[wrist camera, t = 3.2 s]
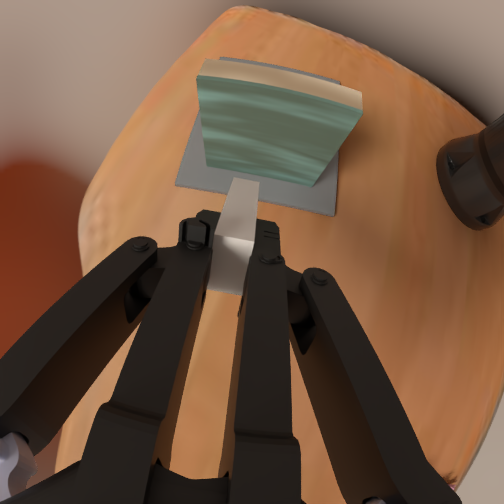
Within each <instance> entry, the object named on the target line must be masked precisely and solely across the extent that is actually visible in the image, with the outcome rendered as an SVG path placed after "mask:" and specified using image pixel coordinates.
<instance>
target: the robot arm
mask: <svg viewBox="0 0 504 504" xmlns="http://www.w3.org/2000/svg"><path fill="white" fill-rule="evenodd" d="M436 166H437V174H438V179H439V183H440V186H441V189H442V191H443V194H444V196H445V198H446V200H447V202H448V204H449V206H450V207H451V209H452V210H453V212H454V213H455V215H456V216H457V217H458V218H459V219H460V220H461V221H462V222H463V223H464V224H465V225H466V226H468V227H469V228H471V229H473V230H484V229H486V228H489V227H491V226H493V225H495V224H496V223H497V222H498V221H499V220H500V219H501V218H502V217H503V216H504V114H503V115H502V116H500V117H499V118H498V119H497V120H495V121H494V122H493V123H491V124H490V125H489V126H487V127H486V128H485V129H484V130H482V131H481V132H480V133H478V134H474V135H469V136H465V137H461V138H457V139H453V140H451V141H449V142H448V143H447V144H445V145H444V146H443V147H442V148H441V149H440V150H439V152H438V155H437V162H436ZM259 183H260V182H257V181H251V180H246V179H241V178H235V177H234V178H233V181H232V184H231V186H230V189H229V192H228V195H227V198H226V201H225V204H224V207H223V209H222V212H221V213H220V212H215V211H209V210H202V211H201V212H199V213H197V215H196V217H195V218H187V219H184V220H182V221H181V222H180V223H179V239H178V243H177V245H176V246H174V247H166V248H157V243H156V241H155V240H153V239H151V238H149V237H144V236H142V237H141V236H139V237H134V238H131V239H129V240H127V241H126V242H125V243H124V244H122V245H121V246H120V247H119V248H117V249H116V250H115V251H114V252H113V253H111V254H110V255H109V256H108V257H106V258H105V259H104V260H103V261H102V262H100V263H99V264H98V265H97V266H96V267H95V268H93V269H92V270H91V271H90V272H89V273H88V274H87V275H85V276H84V277H83V278H82V279H81V280H80V281H79V282H77V283H76V284H75V285H74V286H73V287H72V288H71V289H70V290H69V291H68V292H67V293H65V294H64V295H63V296H62V297H61V298H60V299H59V300H58V301H57V302H56V303H55V304H53V305H52V306H51V307H50V308H49V309H48V310H47V311H46V312H45V313H44V314H43V315H42V316H41V317H40V318H39V319H38V320H37V321H36V322H35V323H34V324H33V325H32V326H31V327H30V328H29V329H28V330H27V331H26V332H25V333H24V334H23V335H22V336H21V337H20V338H19V339H18V340H17V342H16V343H15V344H14V345H13V346H12V347H11V348H10V349H9V350H8V351H7V352H6V353H5V355H4V356H3V357H2V358H1V359H0V504H306V503H305V502H304V501H303V500H302V499H301V452H300V445H299V442H298V440H297V439H296V438H295V437H294V436H293V433H292V399H291V366H290V342H291V345H292V348H293V351H294V354H295V357H296V360H297V362H298V365H299V368H300V371H301V374H302V377H303V380H304V383H305V386H306V389H307V392H308V395H309V398H310V401H311V404H312V407H313V410H314V413H315V416H316V419H317V422H318V425H319V428H320V431H321V434H322V437H323V440H324V443H325V446H326V449H327V452H328V456H329V459H330V462H331V465H332V468H333V471H334V474H335V477H336V480H337V483H338V486H339V488H340V491H341V493H342V496H343V498H344V499H345V501H346V503H347V504H462V501H461V500H460V498H459V496H458V495H457V494H456V493H455V492H454V490H453V489H452V488H451V487H450V486H449V485H448V484H447V483H446V482H445V480H444V479H443V478H442V477H441V476H440V475H439V474H438V473H437V471H436V470H435V469H434V468H433V467H432V466H431V465H430V464H429V462H428V461H427V460H426V457H425V455H424V453H423V450H422V448H421V446H420V443H419V441H418V439H417V437H416V434H415V432H414V430H413V428H412V426H411V423H410V421H409V419H408V417H407V415H406V413H405V410H404V408H403V406H402V404H401V402H400V400H399V398H398V396H397V394H396V392H395V390H394V388H393V386H392V384H391V382H390V380H389V378H388V376H387V374H386V372H385V370H384V368H383V366H382V364H381V362H380V360H379V358H378V356H377V354H376V352H375V350H374V349H373V347H372V345H371V343H370V341H369V339H368V337H367V335H366V334H365V332H364V330H363V328H362V326H361V324H360V323H359V321H358V319H357V317H356V315H355V314H354V312H353V310H352V308H351V307H350V305H349V303H348V301H347V300H346V298H345V296H344V294H343V293H342V291H341V289H340V287H339V286H338V284H337V282H336V281H335V279H334V278H333V276H332V275H331V274H330V273H328V272H327V271H325V270H322V269H320V268H308V269H306V270H304V272H303V274H302V273H299V272H297V271H294V270H292V269H290V268H289V267H287V266H286V265H285V260H284V257H283V256H282V255H281V251H280V235H279V227H278V226H277V225H276V223H275V222H271V221H266V220H261V219H256V217H257V205H258V194H259ZM207 289H209V290H214V291H219V292H225V293H230V294H236V295H241V296H242V298H241V303H240V307H239V311H238V316H237V317H238V325H237V333H236V341H235V350H234V358H233V366H232V374H231V382H230V390H229V399H228V407H227V415H226V424H225V432H224V440H223V449H222V456H221V461H220V466H219V473H218V478H212V479H188V478H186V477H183V476H181V475H179V474H177V473H174V472H172V471H170V470H169V467H170V461H171V450H172V443H173V438H174V433H175V428H176V423H177V418H178V413H179V409H180V404H181V399H182V395H183V390H184V386H185V381H186V377H187V373H188V368H189V364H190V360H191V355H192V351H193V347H194V343H195V338H196V334H197V330H198V326H199V322H200V318H201V314H202V310H203V306H204V302H205V298H206V290H207ZM140 322H141V323H140ZM139 323H140V326H139V328H138V331H137V333H136V335H135V338H134V340H133V343H132V345H131V347H130V350H129V352H128V355H127V357H126V360H125V363H124V365H123V368H122V370H121V373H120V376H119V378H118V381H117V384H116V386H115V389H114V392H113V395H112V397H111V399H110V400H109V402H106V403H103V404H102V405H101V406H100V408H99V409H98V411H97V413H96V416H95V418H94V421H93V424H92V427H91V430H90V433H89V436H88V439H87V442H86V446H85V449H84V452H83V455H82V459H81V460H80V461H77V462H75V463H73V464H72V465H70V466H68V467H67V468H65V469H63V470H61V471H60V472H58V473H56V474H54V475H52V476H51V477H49V478H47V479H46V480H43V481H41V482H39V483H38V484H36V485H34V486H32V487H30V488H28V489H26V484H27V481H28V480H29V479H30V477H31V476H33V475H35V474H36V473H37V464H36V462H35V460H34V456H35V455H36V454H38V453H39V452H40V451H41V450H42V449H43V448H44V447H46V446H47V445H48V444H49V443H50V441H51V440H52V439H53V437H54V436H55V435H56V434H57V432H58V431H59V429H60V428H61V427H62V425H63V424H64V422H65V421H66V420H67V418H68V417H69V415H70V414H71V413H72V411H73V410H74V408H75V407H76V406H77V404H78V403H79V401H80V400H81V399H82V397H83V396H84V395H85V393H86V392H87V391H88V389H89V388H90V387H91V385H92V384H93V383H94V381H95V380H96V379H97V377H98V376H99V375H100V373H101V372H102V371H103V369H104V368H105V367H106V365H107V364H108V363H109V361H110V360H111V359H112V358H113V356H114V355H115V354H116V352H117V351H118V350H119V349H120V347H121V346H122V345H123V343H124V342H125V341H126V340H127V338H128V337H129V336H130V335H131V333H132V332H133V331H134V330H135V328H136V327H137V326H138V325H139ZM289 339H290V341H289Z"/></svg>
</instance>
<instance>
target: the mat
mask: <svg viewBox="0 0 504 504" xmlns="http://www.w3.org/2000/svg"><path fill="white" fill-rule="evenodd" d="M219 60H224V61H232V62H240V63H246V64H253V65H259V66H264V67H270V68H275V69H280V70H285V71H289V72H294V73H298V74H302V75H306V76H310V77H314V78H317V79H321V80H325V81H328V82H331V83H335V84H338V85H340V81H336V80H333V79H330V78H326V77H323V76H319V75H316V74H312V73H308V72H304V71H300V70H296V69H291V68H287V67H282V66H277V65H272V64H267V63H261V62H256V61H249V60H243V59H235V58H227V57H220V59H219ZM338 156H339V149H338V151H337V152H336V153H335V155H334V156H333V158H332V159H331V161H330V162H329V163H328V165H327V166H326V168H325V169H324V171H323V172H322V173H321V175H320V176H319V178H318V179H317V180H316V182H315V183H314V185H313V186H312V187H308V186H304V185H300V184H295V183H291V182H286V181H282V180H277V179H272V178H267V177H262V176H257V175H252V174H247V173H242V172H236V171H231V170H225V169H219V168H213V167H207V165H206V157H205V150H204V142H203V134H202V125H201V117H200V109H199V112H198V114H197V117H196V120H195V123H194V126H193V129H192V131H191V134H190V137H189V140H188V143H187V146H186V149H185V152H184V155H183V158H182V162H181V165H180V168H179V171H178V175H177V178H176V181H175V186H178V187H185V188H191V189H197V190H203V191H209V192H214V193H220V194H225V195H228V192H229V189H230V186H231V184H232V181H233V178H234V177H235V178H241V179H246V180H251V181H257V182H260V183H259V194H258V201H262V202H267V203H272V204H277V205H282V206H286V207H291V208H296V209H300V210H305V211H309V212H314V213H318V214H322V215H327V216H331V217H333V216H334V214H335V203H336V189H337V174H338Z"/></svg>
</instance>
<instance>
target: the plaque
mask: <svg viewBox="0 0 504 504" xmlns="http://www.w3.org/2000/svg"><path fill="white" fill-rule="evenodd" d="M196 81H197V90H198V99H199V108H200V117H201V125H202V134H203V142H204V150H205V157H206V165H207V167H213V168H219V169H225V170H231V171H236V172H242V173H247V174H252V175H257V176H262V177H267V178H272V179H277V180H282V181H286V182H291V183H295V184H300V185H304V186H308V187H312V186H313V185H314V183H315V182H316V180H317V179H318V178H319V176H320V175H321V173H322V172H323V171H324V169H325V168H326V166H327V165H328V163H329V162H330V161H331V159H332V158H333V156H334V155H335V153H336V152H337V151H338V149H339V148H340V146H341V145H342V143H343V142H344V141H345V139H346V138H347V136H348V135H349V133H350V132H351V131H352V129H353V128H354V126H355V125H356V123H357V122H358V120H359V119H360V118H361V116H362V115H363V108H362V93H361V92H359V91H356V90H353V89H350V88H347V87H344V86H341V85H338V84H335V83H331V82H328V81H325V80H321V79H317V78H314V77H310V76H306V75H302V74H298V73H294V72H289V71H285V70H280V69H275V68H270V67H264V66H259V65H253V64H246V63H240V62H232V61H224V60H215V59H205V61H204V63H203V65H202V67H201V69H200V72H199V74H198V76H197V78H196Z"/></svg>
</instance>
